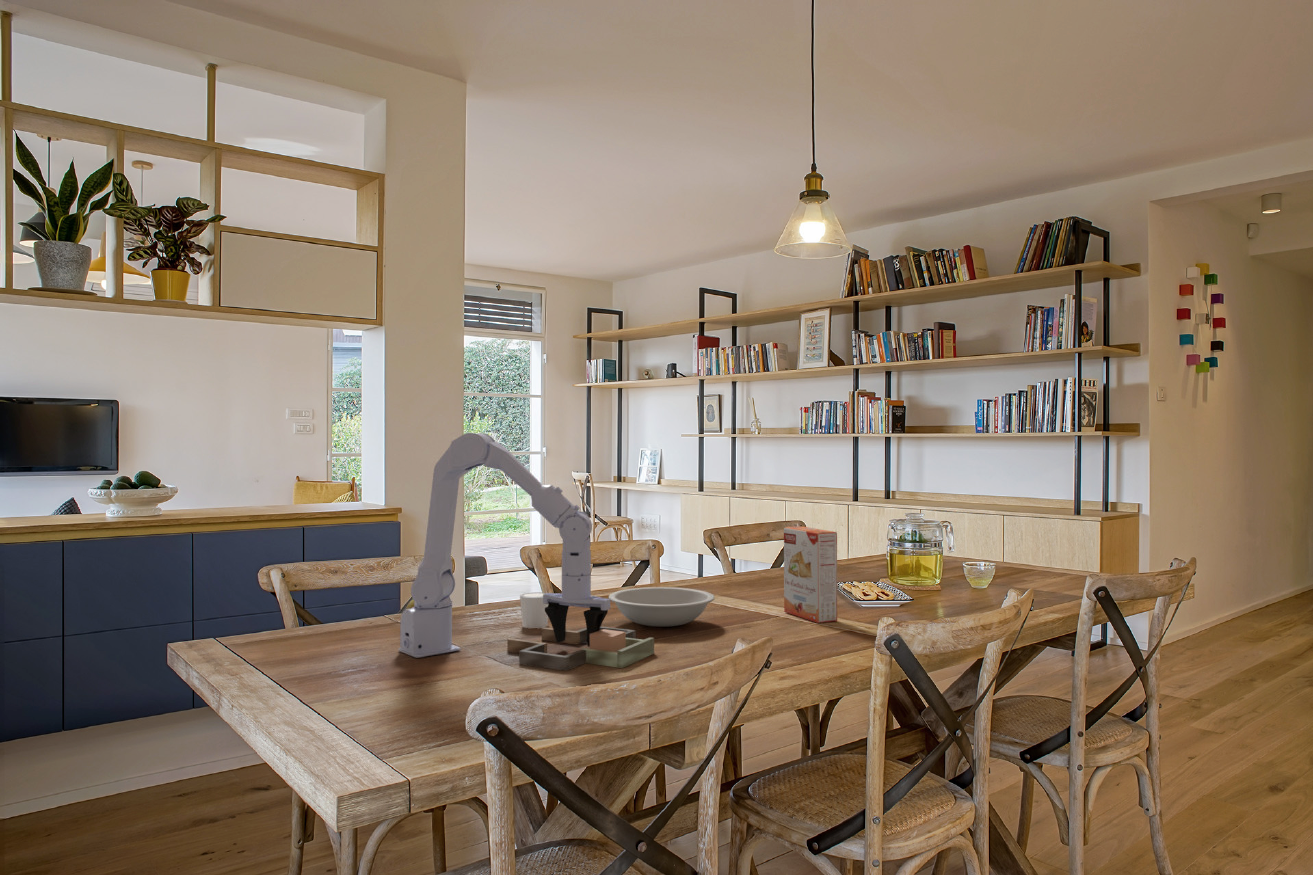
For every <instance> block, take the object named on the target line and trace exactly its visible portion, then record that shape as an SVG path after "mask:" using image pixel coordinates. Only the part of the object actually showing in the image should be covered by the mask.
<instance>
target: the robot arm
mask: <svg viewBox="0 0 1313 875" xmlns="http://www.w3.org/2000/svg"><path fill="white" fill-rule="evenodd" d="M481 466H484V467H485V468H489V469H494V470H495V469H496V470H499V471H501V472H503V474H505V475H506V476H507V477H508V478H509V479H510V480H512V481H513V482H514V483H515V484H516V485H517V486H518V487H519V488H521V489H522V490H523V491H524V492H525V493H526V494H528V495H529V496H530V499H531V507H532V508H533V509H534V510H535V511H536V512H537V513H539V515H540V516H542V517H543V518H544V519H545V520H546V521H547V522H548V523H550V525H551V526H553V527H554V528H556V529H558V531H559V532H558V533H559V535H560V537H561V539H562V550H561V593H556V592H555V593H554V592H545V593H546V594H543V604H549V605H548V607H545V612H546V614H547V616H548V620H549V621H550V624H551V627H552V628H553V630H554V634H555V638H556V642H555V643H558V644H560V643H561V642H562V641H565V636H566V630H567V629H566V628H567V627H566V624H567V618H568V617H567V616H568V611H569V607H576V608H586V609H587V610H583V616H584V620H585V626H586V627H585V628H587V644H586V645H587V647H588V648H590V634H591V633H594V632H597V631H599V630H600V627H601V626H603V622H604V620H605V618H606V616H607V614H608V613H609V610H610V609H611V601H610V599H609V598H604V597H600V596H595V595H591V594H592V584H591V583H592V577H591V576H592V558H591V557H592V551H591V538H590V537H589V536H590V535H591V534H592V530H593V523H592V520H591V518H590V517H589V516H588V513H586V512H584V511H582V510H580V509H581V508H580V506H579V505H578V504H575V505H574V504H573V503H572V501H570V500H569V499H568V498H567V497H565V496H564V494H563V489H562V488H561V487H560V486H557V487H555V486H554V485H553V484H542V483H541V482H540V480H538V478H536V477H535V475H533V474H532V473H531V472H530V470H529V469H527V468H526V466H525V465H524V464H522V462H521V461H519V460H518V458H517V457H516V456H515V455H514V454H513V453H511V451H510V450H508V449H507V448H506V447H505V446H504V445H503V444H501V443H499V442H498V441H495V439H494V438H493V437H492V436H491V435H489V434H487V433H482V432H481V433H476V432H467V433H464V434H462V435H460V436H458V437H457V438H454V440H452V441H451V442H450V444H449V447H448V448H447V450H445V452H444V453H443V454H442V456H441V457H440V458H439V459H438V461H437V462H436V463H435V465H434V467H433V474H432V483H431V484H432V485H431V492H430V501H429V509H428V519H427V528H426V538H425V544H424V554H423V558H422V559H421V562H420V563H419V566H418V568H417V574H416V577H415V579H414V581H413V582H412V584H411V587H410V594H411V597H412V600H414V601H415V603H414V607H413V608H411V609H406V608H405V609H404V610H403V611H402V614H401V615H400V623H399V624H400V634H399V636H400V637H399V639H400V642H399V643H400V644H399V646H400V647H399V648H398V651H399V652H401V653H404V654H406V655H408V656H410V657H413V658H416V659H418V658H424V657H429V656H435V655H442V654H445V653H446V654H447V653H453V652H458V651H461V647H459V646H457V645H455V644H453V601H452V599H451V597H450V596H451V595H452V593H454V590H455V587H456V579H455V577H454V573H453V566H454V564H453V560H452V556H451V555H452V549H453V548H452V546H453V537H454V528H455V523H456V522H455V521H456V520H455V519H456V511H457V504H458V503H457V502H458V495H459V486H460V485H459V484H460V479H461V478H462V477H463V476H465V475H466V474H468V473H469V472H470V471H472V470H473V469H474V468H477V467H481Z"/></svg>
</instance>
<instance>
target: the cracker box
mask: <svg viewBox="0 0 1313 875" xmlns="http://www.w3.org/2000/svg"><path fill="white" fill-rule="evenodd" d="M783 592H784V593H783V597H784V598H783V603H784V604H783V606H784V607H783V609H784V611H783V612H784V613H787V614H790V615H793V616H795V617H798V618H802V619H803V620H804V619H805V620H807V621H810V622H813V623H817V624H822V623H823V624H824V623H830V622H837V621H838V532H837V531H833V530H825V529H819V528H814V527H809V526H808V527H807V526H802V525H800V526H786V527H784V528H783Z"/></svg>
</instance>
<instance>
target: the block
mask: <svg viewBox="0 0 1313 875" xmlns="http://www.w3.org/2000/svg"><path fill="white" fill-rule="evenodd" d="M623 648H626V632H622V631H614V630H607V629H603V630H600V631H597V632H594V633H591V634H590V647H589V649H594V650H601V651H609V652H616V653H617V651H618V650H621V649H623Z"/></svg>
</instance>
